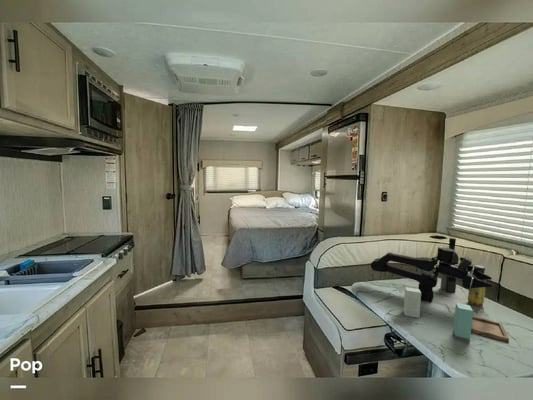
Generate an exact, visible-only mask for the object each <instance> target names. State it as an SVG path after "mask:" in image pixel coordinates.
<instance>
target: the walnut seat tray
mask: <svg viewBox="0 0 533 400" xmlns="http://www.w3.org/2000/svg"><path fill="white" fill-rule="evenodd" d="M471 333H472V334H476V335H480V336H484V337H487V338H491V339H495V340H498V341H503V342H505V343H509V341H510V337H509V335H508V333H507V332H506V329H505V327H504V325H503V323H502V322H498V321H495V320H491V319H486V318H483V317H478V316H476V315H473V316H472V326H471Z"/></svg>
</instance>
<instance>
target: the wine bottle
mask: <svg viewBox="0 0 533 400" xmlns="http://www.w3.org/2000/svg"><path fill="white" fill-rule="evenodd" d="M456 241H457V239H456V238H453V237H449V240H448V242H449V243H448V248H449V249H452V250H454V251H455V248H456ZM459 262H460V258H459V255H458V253H457V252H456V251H455V252H454V257H453V261H452V262H450V263H446V264H450V265H455V264H457V265H459ZM457 282H458V281H457V278H454V279H452V277H450V276H447V275H444V274H441V278H440V289H441V290H443V291H444V292H446V293H456V289H457Z"/></svg>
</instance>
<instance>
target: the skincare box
mask: <svg viewBox="0 0 533 400" xmlns="http://www.w3.org/2000/svg"><path fill="white" fill-rule="evenodd" d="M403 299H404V301H403V313H404V316H406V317H412V318H417V319H418V318H420V316H421V315H420V314H421V301H422V300H421V292H420V290H419V289H418V288H413V287H406V286H404V298H403Z"/></svg>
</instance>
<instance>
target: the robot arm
mask: <svg viewBox="0 0 533 400" xmlns="http://www.w3.org/2000/svg"><path fill="white" fill-rule="evenodd" d="M454 252H456V251H454V250H452V249H449V247H437V255H436V256H433V257H424V256H421V257H412V256H407V255H404V254H397V253H393V252H387V253H386V254H384V255H383V256H381V257H379V258H375V259H374V260H373V261H372V262H371V263H370V267H371V269H372V270H373V271H374V272H380V273H390V274H394V275H396V276H399V277H403V278H407V279H409V280H413V281H416V282H418V284H417V285H418V287H417V289H419V290H420V292H421V301H424V302H427V303H433V300H434V294H435V293H434V290H433V288H436V286H437V284H438V276H439V274H440V275H442V274H444V275H447V276H450V277H452V279H454V278H457V279H459V280H461V282H462V284H461V286H462V288H464V289H467V290H469V288H470V285H471V289H472V288H481V287H486V288H492V287H493V284H491V283H489V282H487V281H489V280H490V281H492V277H491V276H489V275H487V274H485V272H484V273H482V272H480V271H478V270H477V269H476V267H475V265H474V264H472V263H473V259H471V258H470V257H469V256H460V258H459V263H458V265H457V264H455V265H450V264H446V263H450V262H452V261H453V257H454ZM389 262H393V263H399V264H403V265H408V266H413V267H415V268H418V269H420V270H422V272H418V271H414V270H411V269H408V268H404V267H401V266H397V265H394V264H391V263H389ZM438 262H439V263H438ZM434 268H435V270H434ZM479 279H483V280H486V282H484V281H482V280H479Z"/></svg>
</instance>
